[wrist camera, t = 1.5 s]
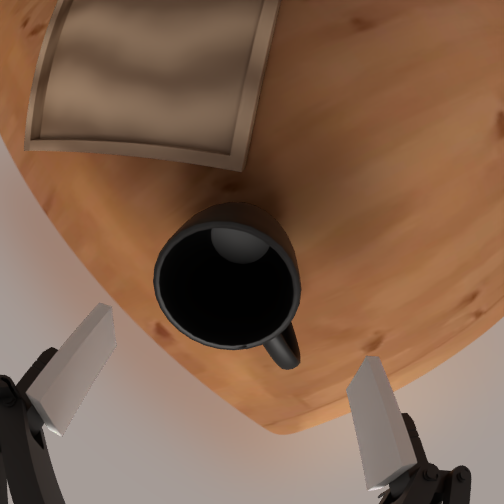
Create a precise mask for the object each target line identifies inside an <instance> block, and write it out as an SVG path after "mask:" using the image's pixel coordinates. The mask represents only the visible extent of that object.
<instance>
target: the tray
mask: <svg viewBox="0 0 504 504" xmlns="http://www.w3.org/2000/svg"><path fill="white" fill-rule="evenodd" d="M280 4H281V0H58V2H57V4H56V7H55V9H54V12H53V14H52V17H51V20H50V22H49V25H48V28H47V31H46V34H45V37H44V40H43V43H42V47H41V50H40V54H39V57H38V61H37V65H36V69H35V74H34V78H33V83H32V88H31V94H30V99H29V106H28V113H27V120H26V130H25V141H24V151H66V152H86V153H100V154H113V155H124V156H134V157H143V158H152V159H160V160H168V161H176V162H183V163H190V164H196V165H203V166H209V167H215V168H221V169H227V170H232V171H238V172H242V171H243V170H244V169H245V166H246V160H247V155H248V150H249V145H250V140H251V135H252V130H253V126H254V121H255V116H256V111H257V106H258V101H259V97H260V92H261V87H262V83H263V78H264V73H265V69H266V64H267V60H268V55H269V51H270V47H271V42H272V38H273V33H274V29H275V25H276V21H277V16H278V12H279V8H280Z"/></svg>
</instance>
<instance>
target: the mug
mask: <svg viewBox="0 0 504 504" xmlns="http://www.w3.org/2000/svg"><path fill="white" fill-rule="evenodd" d="M153 284H154V290H155V296H156V298H157V301H158V303H159V306H160V308H161V310H162V311H163V313H164V314H165V316H166V317H167V319H168V320H169V321H170V322H171V323H172V324H173V325H174V326H175V327H176V328H177V329H178V330H179V331H180V332H181V333H183V334H184V335H186V336H187V337H189V338H190V339H192V340H194V341H196V342H199V343H201V344H203V345H206V346H210V347H213V348H217V349H226V350H240V349H249V348H252V347H256V346H259V345H262V344H263V346H264V347H265V349H266V350H267V352H268V353H269V355H270V356H271V357H272V359H273V360H274V361H275V362H276V364H277V365H278V366H280V367H281V368H282V369H286V370H289V369H293V368H295V367H297V366H298V365H299V363H300V351H299V346H298V342H297V339H296V335H295V332H294V329H293V326H292V322H291V321H292V319H293V318H294V316H295V314H296V311H297V309H298V306H299V304H300V296H301V282H300V275H299V270H298V265H297V260H296V256H295V251H294V249H293V247H292V244H291V242H290V240H289V238H288V236H287V234H286V232H285V231H284V230H283V228H282V227H281V226H280V224H279V223H278V222H277V221H276V219H274V218H273V217H272V216H271V215H270V214H268V213H267V212H266V211H264V210H262V209H260V208H259V207H257V206H255V205H251V204H247V203H243V202H228V203H223V204H218V205H215V206H212V207H210V208H208V209H205V210H203V211H201V212H199V213H198V214H196V215H194V216H193V217H192V218H191V219H190V220H188V221H187V222H186V223H185V224H184V225H183V226H182V227H181V228H179V230H178V231H177V232H176V233H175V234H174V235H173V236H172V237H171V238H170V239H169V240H168V241H167V243H166V244H165V246H164V247H163V248H162V250H161V251H160V253H159V256H158V258H157V261H156V264H155V268H154V279H153Z"/></svg>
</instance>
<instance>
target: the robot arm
mask: <svg viewBox="0 0 504 504" xmlns="http://www.w3.org/2000/svg"><path fill="white" fill-rule="evenodd" d="M116 346H117V345H116V339H115V331H114V323H113V313H112V306H108V305H105V304H102V303H99V304H98V305H97V306H96V307H95V308H94V309H93V310H92V312H91V313H90V314H89V315H88V316H87V317H86V318H85V319H84V321H83V322H82V323H81V324H80V325H79V327H77V329H76V330H75V331H74V332H73V333H72V334H71V336H70V337H69V338H68V339H67V340H66V342H65V343H64V344H63V345H62V346H61V348H60V349H59V350H57V349H55V348H53V347H51V348H49V349H47V350H46V351H44V352H43V353H42V354H41V355H40V356H39V358H38V359H37V361H35V362H34V364H33V365H32V367H30V369H29V370H28V371H27V372H26V373H25V375H24V376H23V377H22V379H21V380H20V381H19V382H18V384H17V385H16V386H15V384H14V382H13V381H12V379H11V378H10V377H8V376H6V375H0V504H8V497H7V481H8V485H9V488H10V493H11V496H12V500H13V503H14V504H65V501H64V499H63V496H62V494H61V491H60V489H59V485H58V483H57V480H56V477H55V474H54V471H53V467H52V464H51V461H50V457H49V453H48V449H47V445H46V441H45V437H44V432H43V429H42V426H43V424H44V423H45V425H46V426H47V427H48V429H49V430H51V431H53V432H54V433H56V434H58V435H60V436H63V435H64V433H65V431H66V429H67V427H68V426H69V424H70V422H71V420H72V418H73V417H74V415H75V413H76V411H77V409H78V408H79V406H80V404H81V403H82V401H83V399H84V398H85V396H86V394H87V393H88V391H89V389H90V387H91V386H92V384H93V383H94V381H95V379H96V378H97V376H98V375H99V373H100V371H101V370H102V368H103V367H104V365H105V363H106V362H107V360H108V359H109V357H110V356H111V354H112V352H113V351H114V349H115V348H116ZM346 391H347V395H348V399H349V404H350V408H351V412H352V416H353V421H354V425H355V430H356V435H357V439H358V444H359V449H360V454H361V458H362V464H363V470H364V475H365V481H366V486H367V491H370V490H375V489H381V488H383V487H384V486H386V485H388V484H389V487H390V488H389V489H388V490H386V491H385V492H383V493H381V494H380V495H379V496H378V498H380V497H382V496H383V498H382V500H381V501H380V503H379V504H442V501H443V504H469V502H470V491H471V473H470V470H469V469H468V468H467V467H465V466H463V465H462V466H458V467H456V468H455V469H453V470H452V471H444V470H439V469H438V468H437V466H435V465H434V464H431V463H428V461H427V458H426V455H425V452H424V449H423V446H422V443H421V440H420V438H419V437H418V436H419V435H418V432H417V431H416V427H415V424H414V421H413V420H412V418H411V417H410V416H409V415H408V413H401V412H400V409H399V407H398V404H397V401H396V399H395V396H394V394H393V391H392V388H391V386H390V383H389V381H388V378H387V376H386V373H385V371H384V368H383V366H382V363H381V361H380V359H379V357H376V356H366V358H365V359H364V361H363V363H362V365H361V366H360V368H359V370H358V371H357V373H356V375H355V376H354V378H353V380H352V381H351V383H350V384H349V386H348V388H347V389H346Z"/></svg>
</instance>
